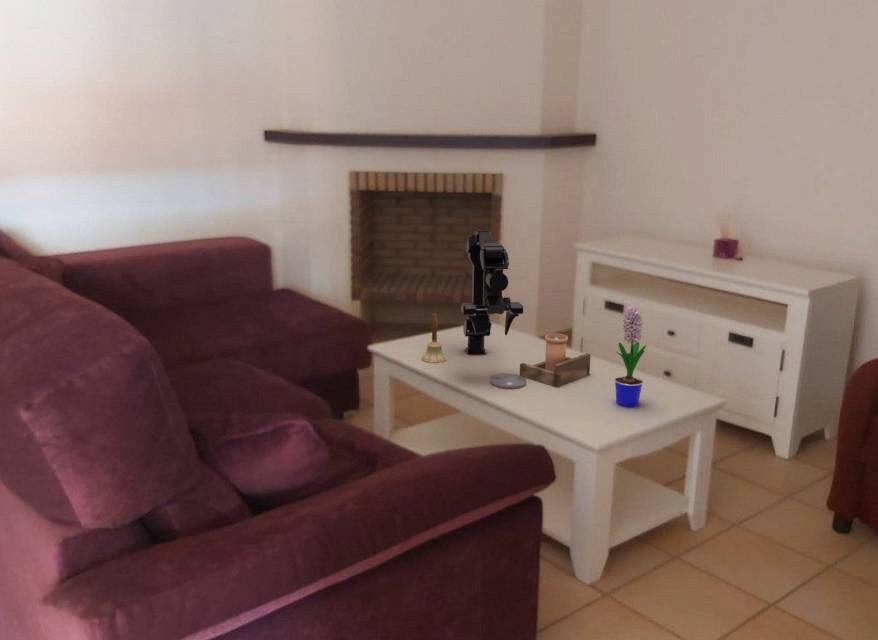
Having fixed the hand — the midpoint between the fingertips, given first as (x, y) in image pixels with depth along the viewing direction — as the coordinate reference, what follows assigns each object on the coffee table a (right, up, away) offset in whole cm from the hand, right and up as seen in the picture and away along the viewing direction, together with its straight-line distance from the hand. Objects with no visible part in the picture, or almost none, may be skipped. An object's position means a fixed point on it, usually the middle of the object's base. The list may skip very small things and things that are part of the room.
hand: (491, 335), depth 266 cm
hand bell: (-18, -9, +22) cm, 30 cm away
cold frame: (+21, -13, +8) cm, 26 cm away
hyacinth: (+39, -20, -15) cm, 47 cm away
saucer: (+5, -15, 0) cm, 16 cm away
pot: (+21, -13, +8) cm, 26 cm away
